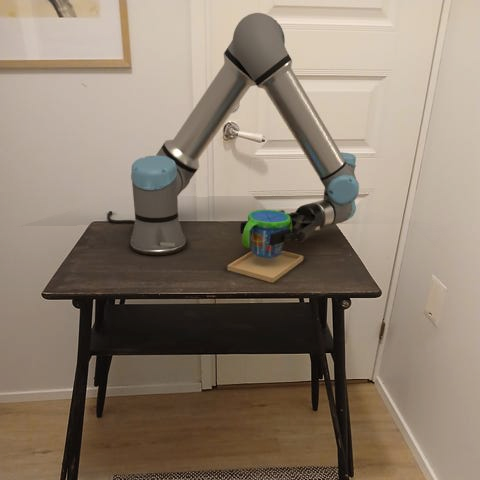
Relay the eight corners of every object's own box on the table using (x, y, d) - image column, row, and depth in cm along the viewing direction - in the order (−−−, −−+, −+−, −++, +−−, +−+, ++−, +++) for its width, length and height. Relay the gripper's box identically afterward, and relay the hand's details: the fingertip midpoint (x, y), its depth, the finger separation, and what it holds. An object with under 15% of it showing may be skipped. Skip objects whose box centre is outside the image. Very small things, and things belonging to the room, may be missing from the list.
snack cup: (278, 242, 133) (280, 205, 128) (302, 255, 126) (307, 216, 121) (230, 252, 126) (231, 214, 121) (253, 267, 118) (255, 226, 113)
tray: (227, 270, 124) (227, 265, 123) (260, 249, 137) (261, 245, 136) (272, 282, 118) (273, 278, 117) (303, 260, 131) (303, 255, 130)
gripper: (344, 241, 128) (288, 262, 115) (282, 219, 142) (225, 235, 129) (349, 213, 125) (291, 231, 111) (284, 194, 139) (226, 208, 125)
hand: (255, 234), depth 120 cm, fingers closed on snack cup, 10 cm apart
